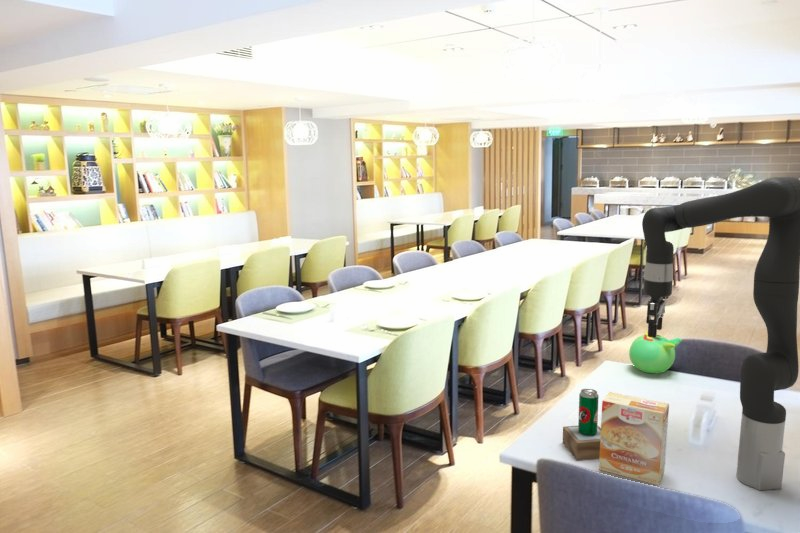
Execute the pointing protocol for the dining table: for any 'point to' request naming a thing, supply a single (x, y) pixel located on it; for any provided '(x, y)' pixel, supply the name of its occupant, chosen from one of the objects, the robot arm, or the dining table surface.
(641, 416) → the coffeecake box
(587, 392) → the soda can
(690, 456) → the dining table surface
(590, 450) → the walnut plinth
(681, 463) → the dining table surface
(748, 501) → the dining table surface
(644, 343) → the toy bird
